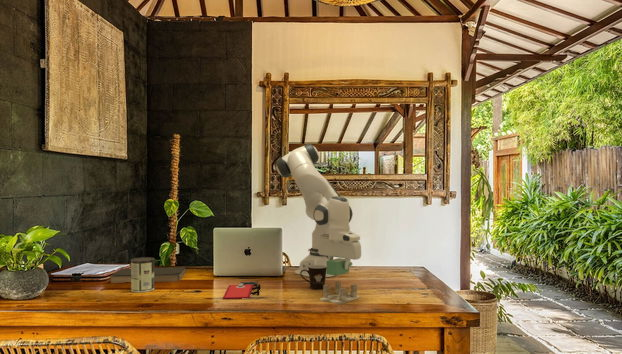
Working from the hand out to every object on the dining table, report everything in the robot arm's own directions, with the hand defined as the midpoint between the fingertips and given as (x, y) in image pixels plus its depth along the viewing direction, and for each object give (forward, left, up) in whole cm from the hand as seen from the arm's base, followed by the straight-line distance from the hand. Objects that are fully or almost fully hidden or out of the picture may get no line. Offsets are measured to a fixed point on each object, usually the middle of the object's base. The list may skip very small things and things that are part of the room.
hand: (339, 267), depth 202 cm
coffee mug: (-21, +9, -13) cm, 26 cm away
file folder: (-101, -25, -14) cm, 105 cm away
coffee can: (-80, -43, -13) cm, 91 cm away
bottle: (0, +2, -2) cm, 3 cm away
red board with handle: (-42, -15, -14) cm, 47 cm away
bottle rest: (0, 0, -13) cm, 13 cm away
